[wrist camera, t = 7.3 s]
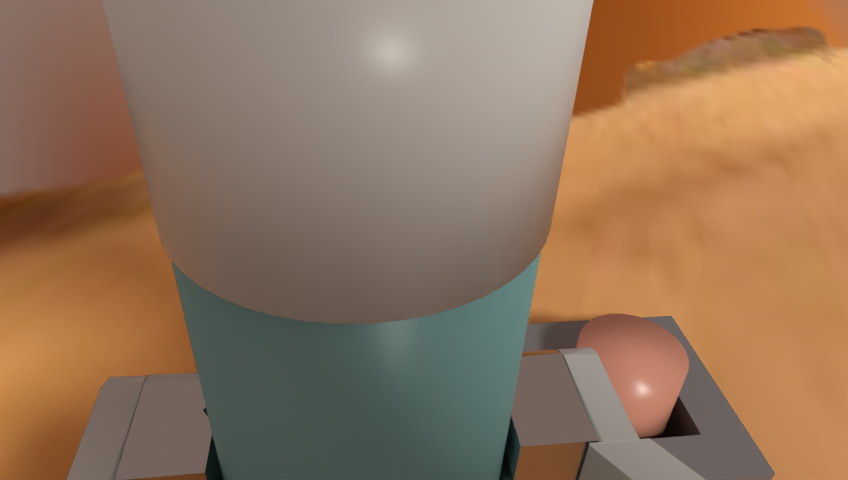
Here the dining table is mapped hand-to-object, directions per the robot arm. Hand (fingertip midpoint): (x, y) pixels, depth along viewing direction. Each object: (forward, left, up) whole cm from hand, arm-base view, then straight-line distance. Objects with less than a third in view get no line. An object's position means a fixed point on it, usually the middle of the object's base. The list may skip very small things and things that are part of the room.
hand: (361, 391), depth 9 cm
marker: (0, -1, -8) cm, 8 cm away
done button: (+11, +11, -15) cm, 22 cm away
